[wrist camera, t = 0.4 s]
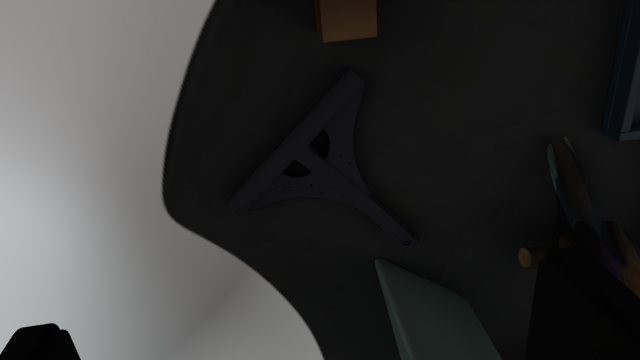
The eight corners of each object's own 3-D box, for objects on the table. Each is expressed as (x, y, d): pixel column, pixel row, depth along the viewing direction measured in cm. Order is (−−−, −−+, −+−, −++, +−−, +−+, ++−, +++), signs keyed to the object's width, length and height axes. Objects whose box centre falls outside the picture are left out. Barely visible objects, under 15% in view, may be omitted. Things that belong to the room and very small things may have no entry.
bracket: (354, 284, 43) (360, 304, 41) (228, 197, 38) (226, 214, 35) (469, 178, 40) (483, 193, 37) (348, 64, 34) (355, 73, 32)
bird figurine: (490, 158, 38) (646, 418, 28) (604, 117, 38) (805, 364, 27) (475, 223, 49) (582, 425, 39) (563, 192, 49) (694, 387, 39)
